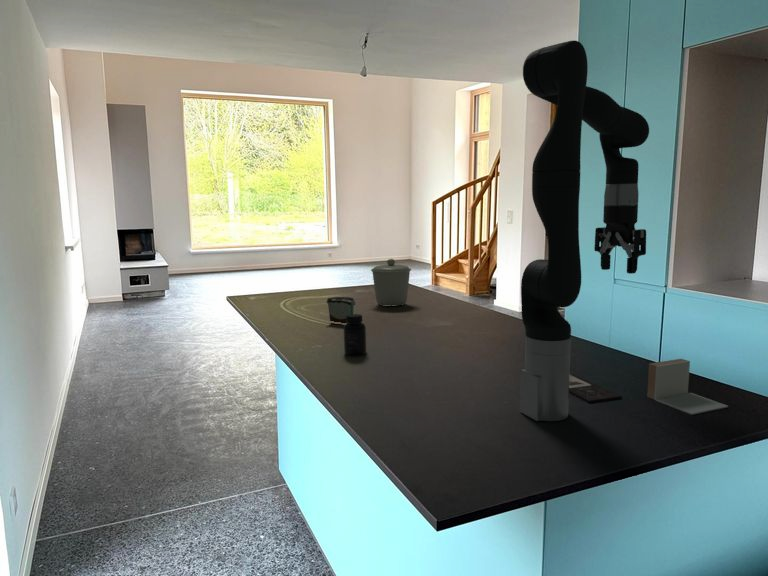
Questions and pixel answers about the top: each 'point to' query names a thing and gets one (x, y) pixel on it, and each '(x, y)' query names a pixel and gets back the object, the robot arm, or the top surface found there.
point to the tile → (668, 378)
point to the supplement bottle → (354, 336)
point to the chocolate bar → (589, 390)
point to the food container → (340, 308)
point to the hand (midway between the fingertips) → (618, 271)
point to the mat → (691, 403)
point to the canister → (391, 283)
